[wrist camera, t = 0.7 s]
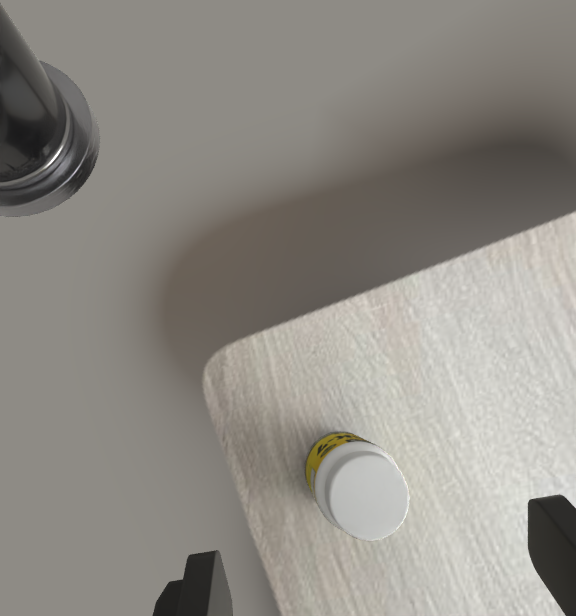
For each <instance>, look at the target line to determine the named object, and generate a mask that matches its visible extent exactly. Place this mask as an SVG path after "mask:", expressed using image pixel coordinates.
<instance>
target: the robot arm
mask: <svg viewBox="0 0 576 616" xmlns="http://www.w3.org/2000/svg"><path fill="white" fill-rule="evenodd" d="M72 136H73V117H72V113H71V110H70V107H69V105H68V103H67V101H66V99H65V98H64V96H63V95H62V93H61V92H60V90H59V89H58V87H57V86H56V85H55V84H54V83H53V82H52V80H51V79H50V78H49V76H48V75H47V73H46V72H45V70H44V69H43V67H42V66H41V64H40V62H39V61H38V59H37V58H36V56H35V55H34V53H33V52H32V50H31V49H30V47H29V46H28V44H27V43H26V41H25V40H24V38H23V36H22V35H21V33H20V32H19V31H18V29H17V27H16V26H15V25H14V23H13V21H12V20H11V18H10V17H9V15H8V14H7V13H6V11H5V9H4V8H3V6H2V5H1V3H0V190H10V189H16V188H21V187H24V186H27V185H30V184H32V183H35V182H37V181H39V180H40V179H42V178H44V177H45V176H47V175H48V174H49V173H51V172H52V171H53V170H54V169H55V168H56V167H57V166H58V165H59V164H60V162H61V161H62V160H63V158H64V157H65V155H66V153H67V151H68V149H69V147H70V144H71V141H72ZM528 550H529V554H530V558H531V561H532V563H533V565H534V568H535V570H536V571H537V573H538V575H539V576H540V578H541V579H542V581H543V582H544V584H545V585H546V587H547V588H548V590H549V591H550V593H551V594H552V596H553V597H554V599H555V600H556V602H557V603H558V605H559V606H560V608H561V609H562V611H563V612H564V613H565V615H566V616H576V508H575V507H574V506H573V505H572V504H571V503H570V502H569V501H568V500H567V499H566V498H565V497H564V496H562V495H554V496H548V497H542V498H536V499H530V500H529V502H528ZM153 616H233V610H232V599H231V594H230V590H229V586H228V582H227V578H226V574H225V571H224V567H223V563H222V559H221V555H220V553H219V551H218V550H216V551H211V552H204V553H198V554H192V555H189V557H188V559H187V563H186V568H185V573H184V578H183V580H177V581H171V582H169V583H168V584H167V586H166V587H165V589H164V591H163V592H162V594H161V595H160V597H159V599H158V600H157V602H156V605H155V609H154V613H153Z"/></svg>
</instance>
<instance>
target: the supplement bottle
mask: <svg viewBox="0 0 576 616" xmlns="http://www.w3.org/2000/svg"><path fill="white" fill-rule="evenodd" d="M305 476H306V480H307V483H308V486H309V488H310V490H311V492H312V494H313V496H314V498H315V500H316V502H317V504H318V506H319V508H320V510H321V512H322V513H323V515H324V516H325V517H326V519H327V520H328V521H329V522H330V523H332V524H333V525H334V526H335V527H337V528H339V529H341V530H343V531H345V532H346V533H347V534H349V535H350V536H352V537H354V538H357V539H360V540H365V541H375V540H379V539H383V538H385V537H387V536H389V535H391V534H392V533H393V532H395V531H396V530H397V529H398V528H399V526H400V525H401V524H402V522H403V521H404V519H405V517H406V514H407V511H408V507H409V490H408V486H407V483H406V480H405V478H404V476H403V475H402V473H401V472H400V470H399V469H398V467H397V465H396V463H395V462H394V460H393V459H392V457H391V456H390V455H389V454H388V453H387V452H386V451H384V450H383V449H382V448H380V447H379V446H377V445H375V444H373V443H371V442H369V441H367V440H364V439H362V438H360V437H358V436H356V435H354V434H351V433H347V432H333V433H330V434H327V435H325V436H323V437H321V438H320V439H319V440H317V441H316V442H315V443H314V445H313V446H312V447H311V449H310V450H309V452H308V455H307V458H306V462H305Z"/></svg>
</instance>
